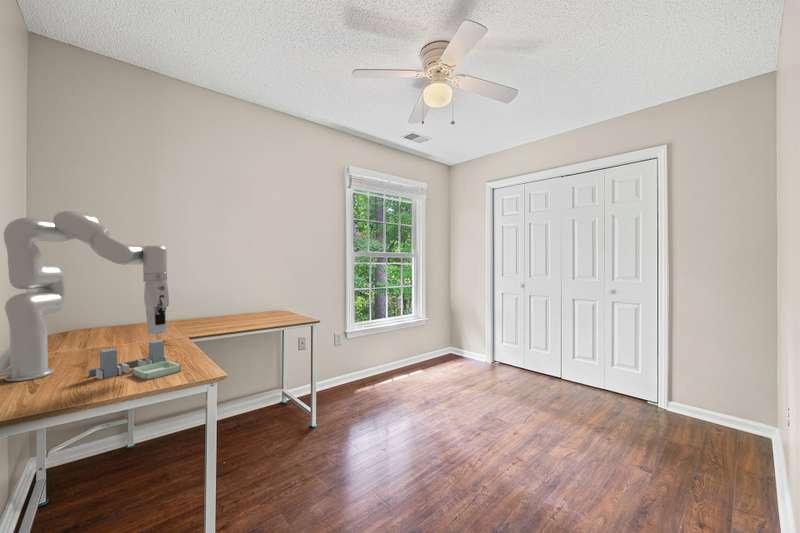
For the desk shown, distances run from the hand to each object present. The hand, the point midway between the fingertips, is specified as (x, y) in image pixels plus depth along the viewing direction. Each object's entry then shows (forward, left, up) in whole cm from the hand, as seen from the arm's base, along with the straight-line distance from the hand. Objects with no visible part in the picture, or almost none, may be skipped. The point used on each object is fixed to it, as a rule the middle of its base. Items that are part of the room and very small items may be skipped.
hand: (156, 323), depth 133 cm
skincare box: (0, 0, -4) cm, 4 cm away
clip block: (-3, +11, -20) cm, 23 cm away
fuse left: (-11, +11, -20) cm, 25 cm away
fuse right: (+5, +11, -20) cm, 23 cm away
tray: (0, 0, -20) cm, 20 cm away
